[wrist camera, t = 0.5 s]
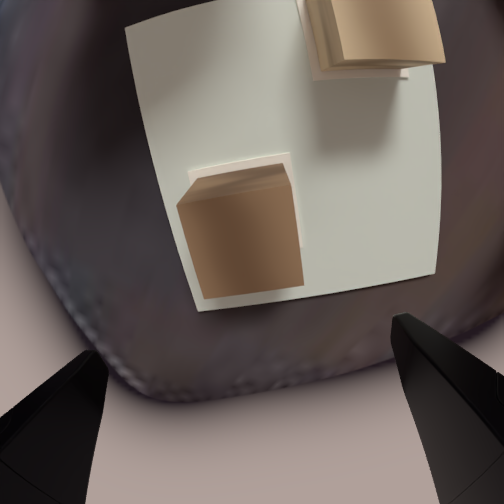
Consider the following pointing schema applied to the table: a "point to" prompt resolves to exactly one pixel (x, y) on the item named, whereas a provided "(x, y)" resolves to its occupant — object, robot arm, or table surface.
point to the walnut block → (242, 232)
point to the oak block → (375, 34)
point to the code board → (294, 139)
